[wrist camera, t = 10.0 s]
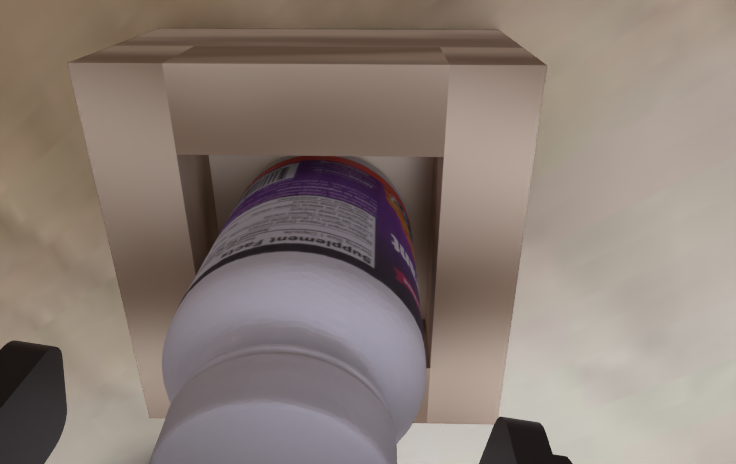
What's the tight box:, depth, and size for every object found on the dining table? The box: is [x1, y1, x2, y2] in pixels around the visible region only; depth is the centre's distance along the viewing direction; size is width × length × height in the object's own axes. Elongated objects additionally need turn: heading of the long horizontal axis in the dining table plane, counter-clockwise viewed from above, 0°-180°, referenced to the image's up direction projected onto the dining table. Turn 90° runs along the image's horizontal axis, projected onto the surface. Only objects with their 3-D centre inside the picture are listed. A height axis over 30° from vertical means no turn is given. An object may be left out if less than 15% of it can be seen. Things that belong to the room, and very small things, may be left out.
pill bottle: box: [149, 156, 426, 464], centre depth 13 cm, size 5×5×10 cm
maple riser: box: [68, 29, 547, 424], centre depth 18 cm, size 11×11×6 cm
